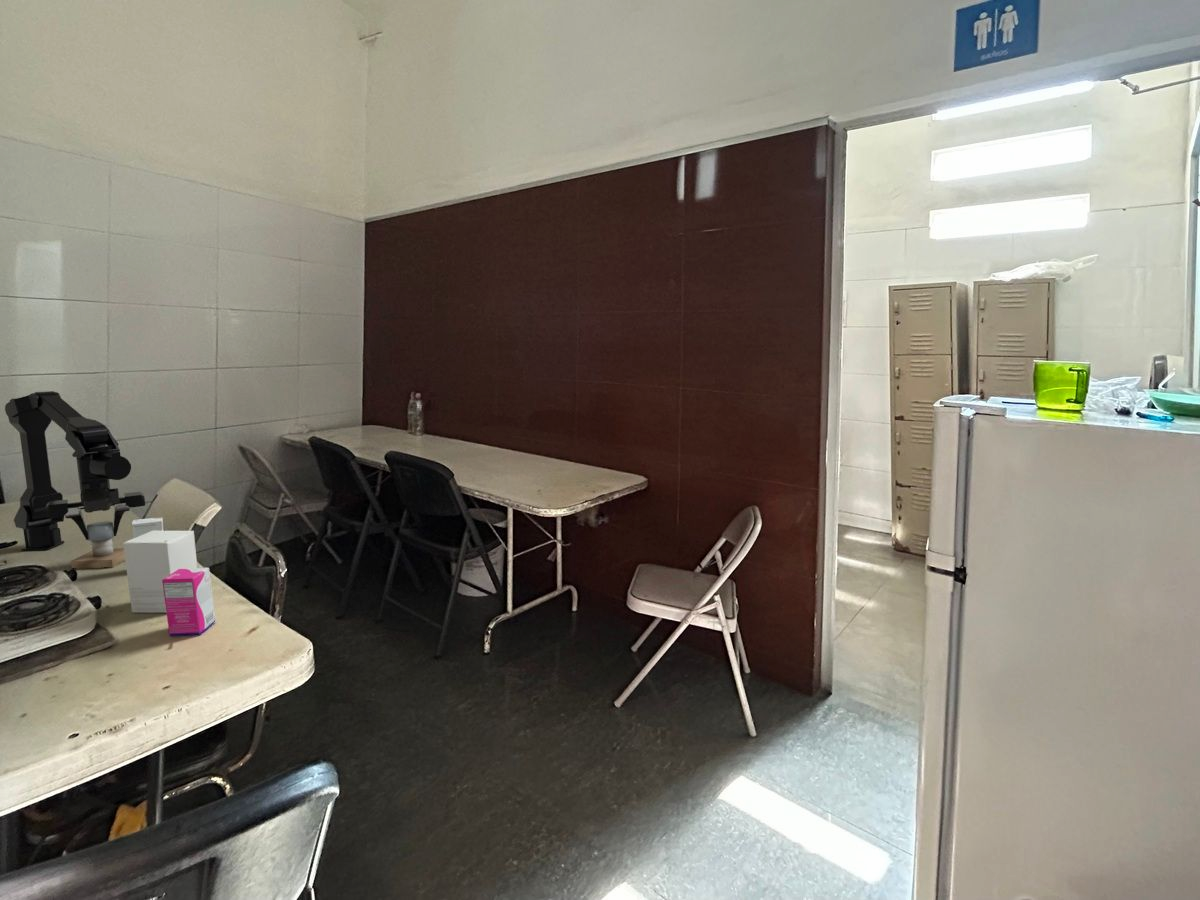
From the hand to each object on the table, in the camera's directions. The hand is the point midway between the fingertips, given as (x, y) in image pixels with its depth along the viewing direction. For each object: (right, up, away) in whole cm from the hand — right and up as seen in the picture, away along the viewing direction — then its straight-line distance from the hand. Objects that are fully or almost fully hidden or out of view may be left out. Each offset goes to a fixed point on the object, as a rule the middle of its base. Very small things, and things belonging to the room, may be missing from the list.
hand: (101, 537), depth 155 cm
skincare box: (+15, -7, -3) cm, 17 cm away
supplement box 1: (+33, -11, -23) cm, 42 cm away
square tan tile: (0, -6, +1) cm, 6 cm away
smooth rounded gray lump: (0, 0, 0) cm, 0 cm away
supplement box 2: (+45, -13, -35) cm, 58 cm away
